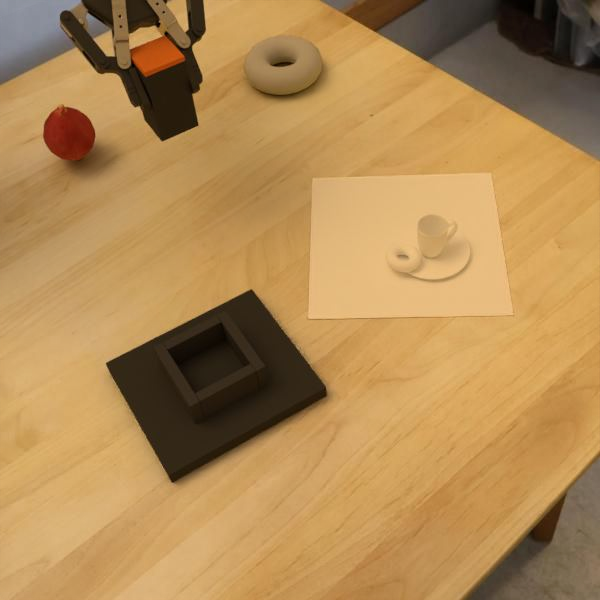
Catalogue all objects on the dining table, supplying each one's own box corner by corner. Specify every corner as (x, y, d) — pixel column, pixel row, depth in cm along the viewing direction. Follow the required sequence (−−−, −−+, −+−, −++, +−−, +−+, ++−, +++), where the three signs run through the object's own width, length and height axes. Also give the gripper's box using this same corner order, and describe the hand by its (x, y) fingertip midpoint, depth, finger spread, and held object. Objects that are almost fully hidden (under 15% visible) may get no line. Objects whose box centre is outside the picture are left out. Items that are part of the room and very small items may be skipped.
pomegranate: (45, 170, 101) (23, 117, 95) (68, 138, 104) (48, 85, 98) (88, 179, 99) (69, 125, 93) (110, 146, 103) (93, 92, 96)
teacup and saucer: (385, 283, 86) (386, 257, 83) (383, 225, 91) (383, 198, 88) (473, 281, 86) (477, 254, 83) (466, 223, 91) (469, 196, 87)
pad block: (161, 142, 81) (144, 72, 75) (144, 119, 84) (125, 50, 77) (198, 125, 83) (184, 56, 76) (180, 104, 85) (165, 34, 79)
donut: (339, 76, 108) (289, 41, 113) (338, 53, 105) (287, 19, 110) (277, 112, 105) (229, 74, 110) (275, 89, 102) (225, 52, 107)
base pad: (172, 483, 74) (161, 458, 71) (109, 371, 82) (97, 344, 79) (327, 395, 79) (324, 368, 75) (253, 297, 87) (248, 269, 83)
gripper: (18, -75, 71) (100, 120, 74) (177, -122, 74) (250, 66, 77) (22, -44, 78) (96, 133, 81) (166, -88, 82) (233, 83, 84)
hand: (171, 99), depth 79 cm, fingers closed on pad block, 4 cm apart
